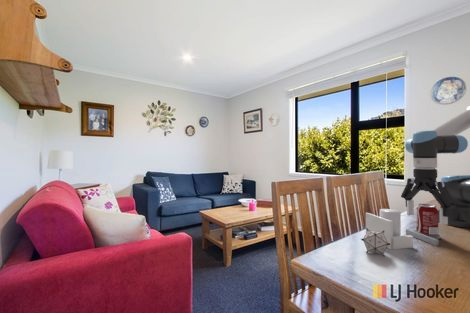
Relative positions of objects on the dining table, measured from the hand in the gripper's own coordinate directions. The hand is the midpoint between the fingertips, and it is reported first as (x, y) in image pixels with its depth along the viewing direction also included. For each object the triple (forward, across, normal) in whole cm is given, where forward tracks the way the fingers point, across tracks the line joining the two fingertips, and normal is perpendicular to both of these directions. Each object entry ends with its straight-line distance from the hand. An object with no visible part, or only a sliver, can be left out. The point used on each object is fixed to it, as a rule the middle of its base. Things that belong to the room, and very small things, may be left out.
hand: (425, 219), depth 91 cm
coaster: (+6, 0, 0) cm, 7 cm away
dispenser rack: (+6, +3, -16) cm, 17 cm away
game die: (+6, +11, -33) cm, 36 cm away
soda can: (+6, +1, 0) cm, 6 cm away
